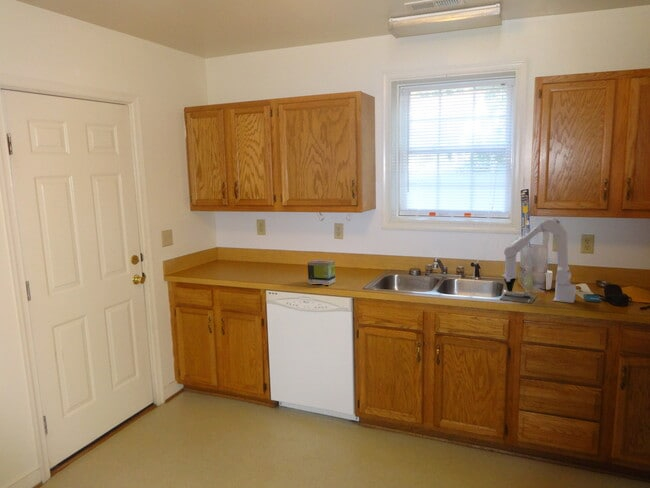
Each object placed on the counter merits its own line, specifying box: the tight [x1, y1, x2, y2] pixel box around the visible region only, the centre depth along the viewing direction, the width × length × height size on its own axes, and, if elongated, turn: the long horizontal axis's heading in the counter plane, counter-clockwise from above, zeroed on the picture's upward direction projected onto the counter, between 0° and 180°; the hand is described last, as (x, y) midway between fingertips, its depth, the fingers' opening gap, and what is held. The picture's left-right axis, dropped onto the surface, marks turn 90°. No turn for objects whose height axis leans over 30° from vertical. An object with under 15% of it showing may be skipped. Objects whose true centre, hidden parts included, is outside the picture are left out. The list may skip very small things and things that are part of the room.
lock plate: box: [499, 295, 537, 304], centre depth 258 cm, size 16×15×1 cm
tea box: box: [307, 259, 336, 285], centre depth 304 cm, size 15×10×15 cm, turn 63°
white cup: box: [545, 269, 554, 291], centre depth 275 cm, size 8×8×10 cm
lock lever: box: [502, 289, 531, 298], centre depth 260 cm, size 14×4×2 cm, turn 57°
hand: (509, 291), depth 267 cm, fingers closed
